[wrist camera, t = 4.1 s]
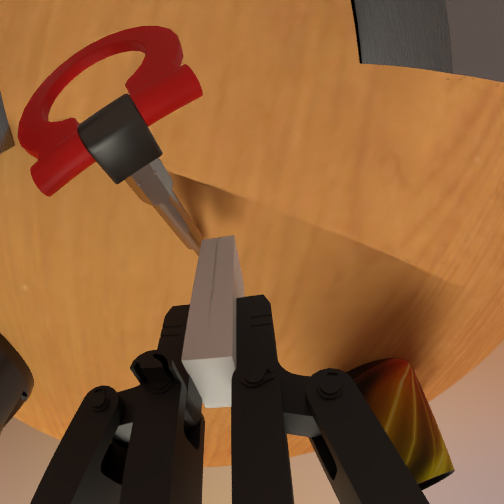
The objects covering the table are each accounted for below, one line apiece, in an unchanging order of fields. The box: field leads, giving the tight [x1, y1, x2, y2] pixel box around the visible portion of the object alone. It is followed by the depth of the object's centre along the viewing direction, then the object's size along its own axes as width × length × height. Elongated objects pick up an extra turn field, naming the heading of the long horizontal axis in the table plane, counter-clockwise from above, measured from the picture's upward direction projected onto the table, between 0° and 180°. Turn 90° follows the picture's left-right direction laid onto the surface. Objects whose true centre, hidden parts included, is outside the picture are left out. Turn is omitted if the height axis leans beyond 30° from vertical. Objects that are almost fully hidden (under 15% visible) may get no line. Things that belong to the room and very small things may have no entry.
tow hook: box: [18, 26, 203, 256], centre depth 13 cm, size 7×10×7 cm
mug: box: [347, 358, 455, 490], centre depth 23 cm, size 10×14×12 cm
